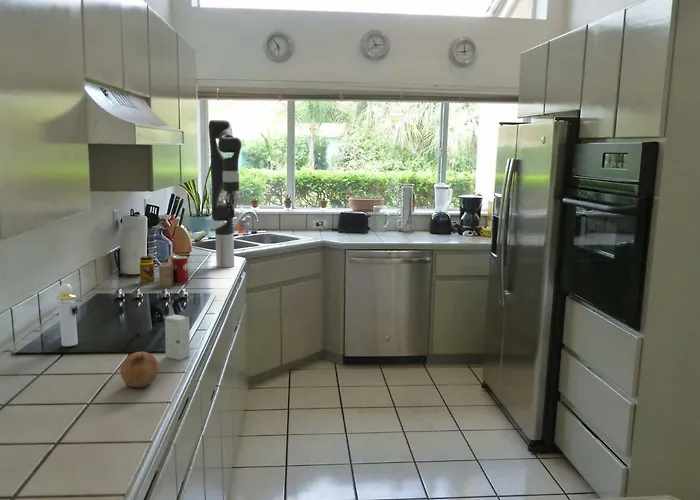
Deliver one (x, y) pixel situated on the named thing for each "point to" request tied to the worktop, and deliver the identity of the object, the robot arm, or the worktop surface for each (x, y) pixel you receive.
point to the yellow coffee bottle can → (146, 270)
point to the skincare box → (177, 337)
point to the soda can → (180, 270)
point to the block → (165, 275)
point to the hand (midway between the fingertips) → (232, 217)
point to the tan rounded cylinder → (170, 259)
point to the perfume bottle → (67, 316)
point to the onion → (139, 369)
